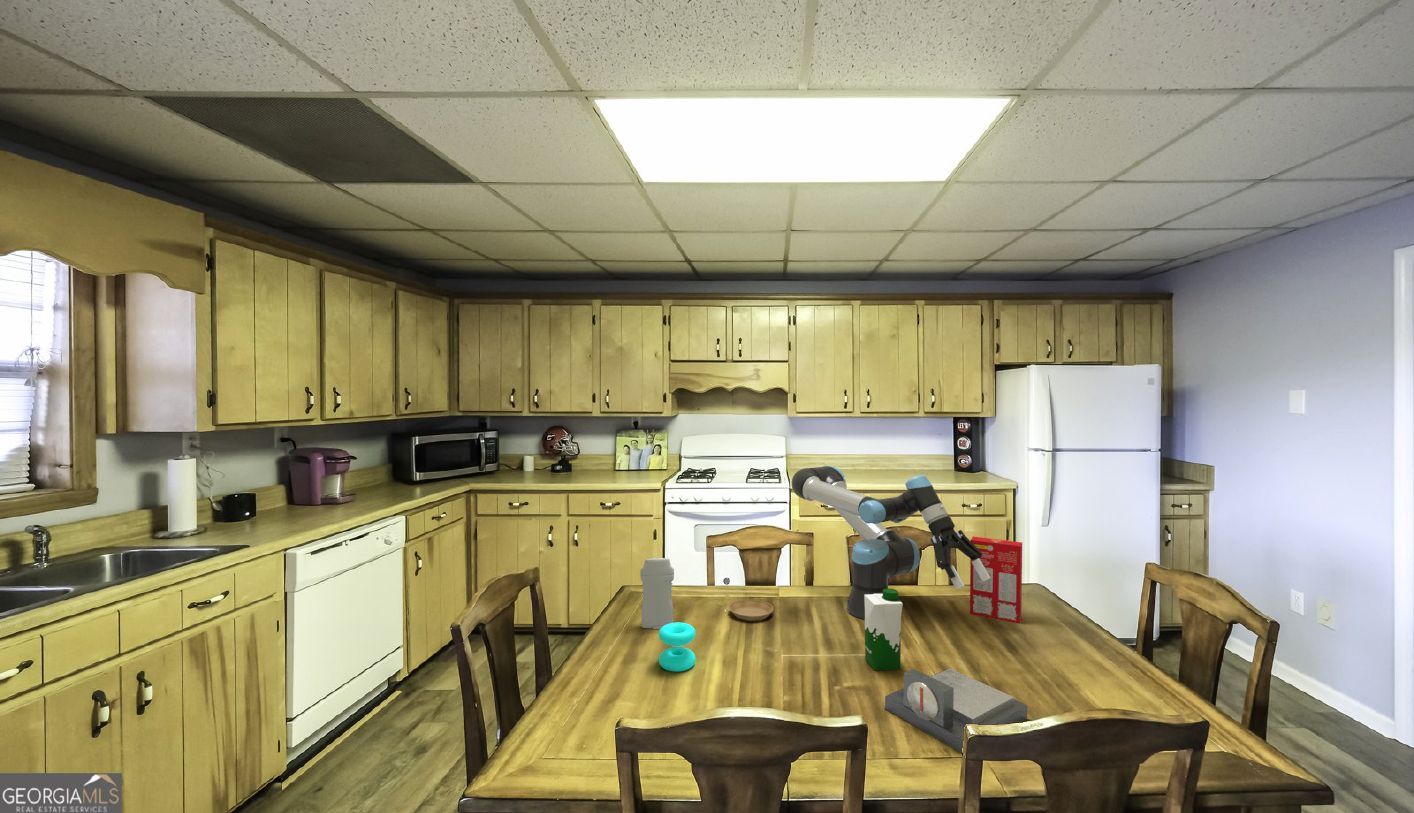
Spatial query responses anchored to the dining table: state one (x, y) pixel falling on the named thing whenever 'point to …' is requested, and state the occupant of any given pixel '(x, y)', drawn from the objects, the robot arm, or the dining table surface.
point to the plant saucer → (751, 609)
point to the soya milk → (883, 630)
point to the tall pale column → (657, 593)
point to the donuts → (677, 656)
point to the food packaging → (997, 580)
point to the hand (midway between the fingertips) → (973, 583)
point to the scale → (951, 705)
